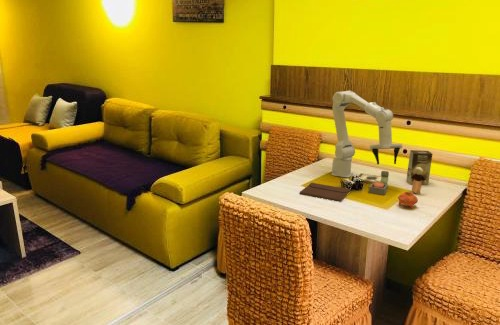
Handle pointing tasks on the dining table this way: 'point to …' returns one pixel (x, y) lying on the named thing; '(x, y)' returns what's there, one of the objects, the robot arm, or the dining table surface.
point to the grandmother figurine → (417, 181)
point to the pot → (407, 199)
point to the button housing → (378, 189)
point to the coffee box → (419, 164)
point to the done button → (378, 184)
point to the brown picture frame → (370, 178)
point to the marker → (384, 177)
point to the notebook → (325, 192)
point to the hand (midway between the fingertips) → (386, 163)
